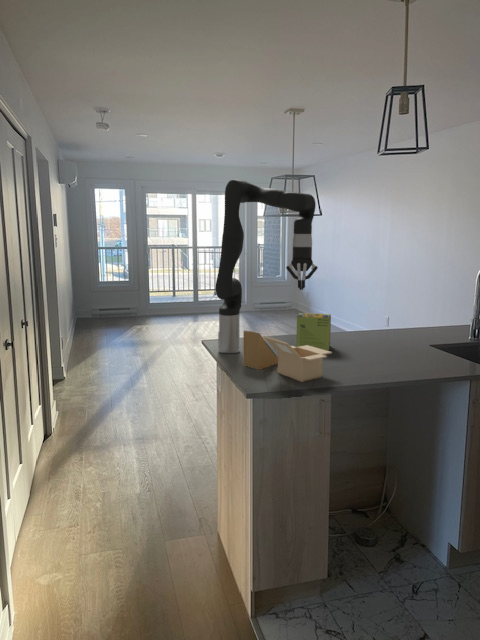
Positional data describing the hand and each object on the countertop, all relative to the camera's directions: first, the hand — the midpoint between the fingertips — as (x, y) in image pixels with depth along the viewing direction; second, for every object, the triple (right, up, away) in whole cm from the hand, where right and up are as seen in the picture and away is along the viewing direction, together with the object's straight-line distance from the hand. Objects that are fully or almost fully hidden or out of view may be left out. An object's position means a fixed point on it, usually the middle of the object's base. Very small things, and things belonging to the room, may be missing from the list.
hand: (301, 289), depth 196 cm
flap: (-9, -22, -16) cm, 29 cm away
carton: (0, -33, -8) cm, 34 cm away
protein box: (+10, -25, +34) cm, 44 cm away
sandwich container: (-15, -31, +7) cm, 35 cm away
